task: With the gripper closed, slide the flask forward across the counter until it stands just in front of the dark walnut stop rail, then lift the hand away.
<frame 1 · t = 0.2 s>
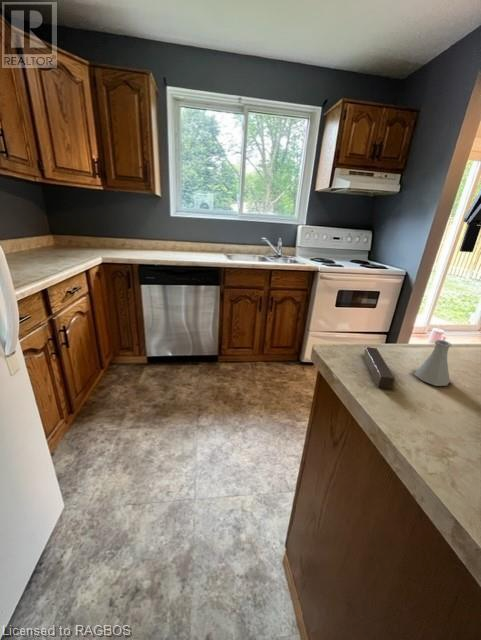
stop rail: (376, 371, 70), on the countertop
flask: (430, 379, 68), on the countertop
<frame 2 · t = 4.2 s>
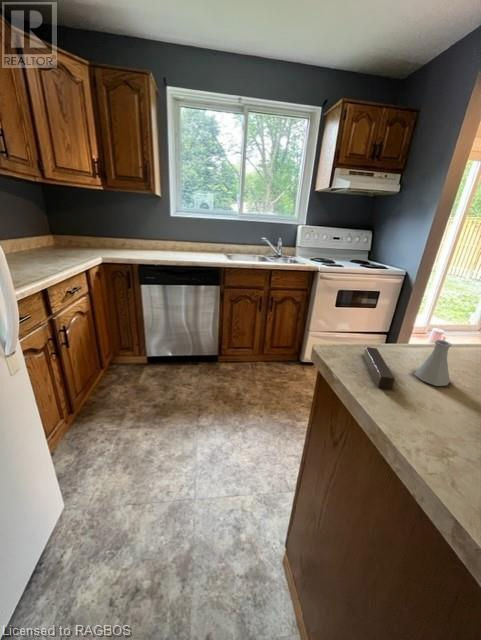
nothing on the countertop moved.
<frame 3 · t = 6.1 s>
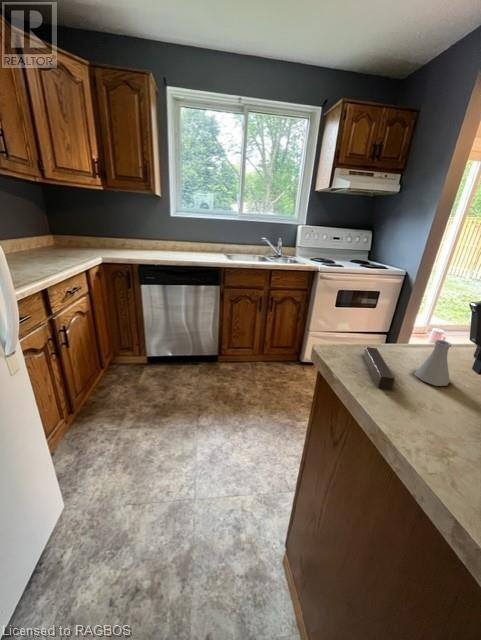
hand: (478, 372, 65), 4 cm above the countertop, tool pointing down, fingers closed
nothing on the countertop moved.
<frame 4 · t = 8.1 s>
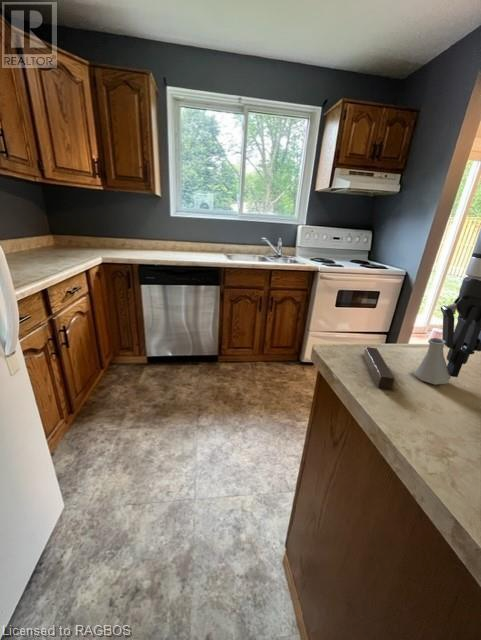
hand: (451, 373, 66), 2 cm above the countertop, tool pointing down, fingers closed
flask: (431, 377, 68), on the countertop, touching gripper, hand
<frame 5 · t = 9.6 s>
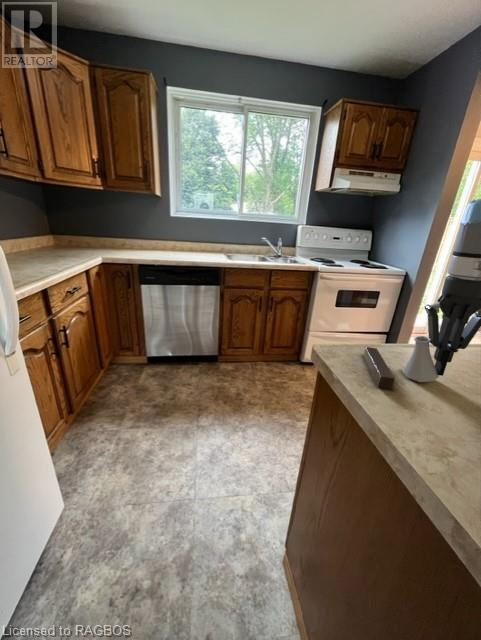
hand: (438, 372, 66), 2 cm above the countertop, tool pointing down, fingers closed
flask: (420, 375, 68), on the countertop, touching gripper, hand
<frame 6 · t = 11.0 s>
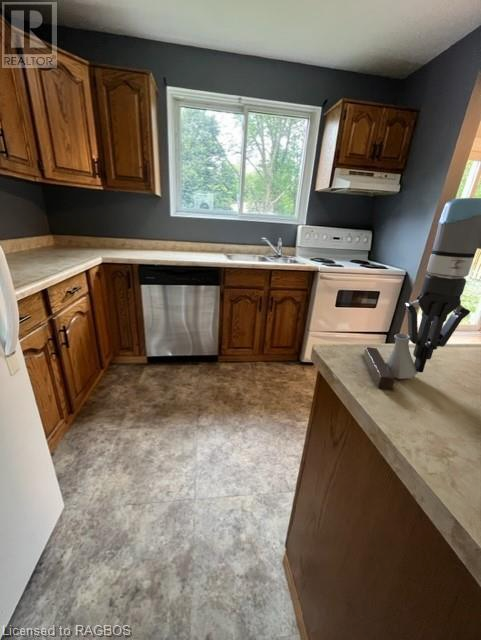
hand: (417, 369, 67), 2 cm above the countertop, tool pointing down, fingers closed
flask: (399, 372, 69), on the countertop, touching gripper, hand
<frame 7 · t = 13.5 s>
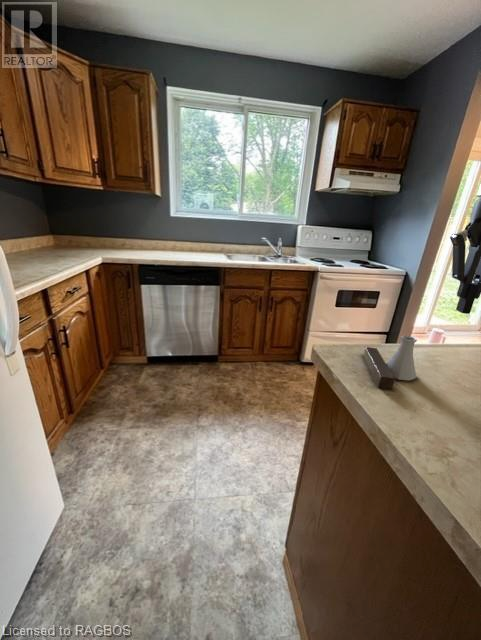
hand: (462, 311, 62), 18 cm above the countertop, tool pointing down, fingers closed
flask: (398, 374, 70), on the countertop
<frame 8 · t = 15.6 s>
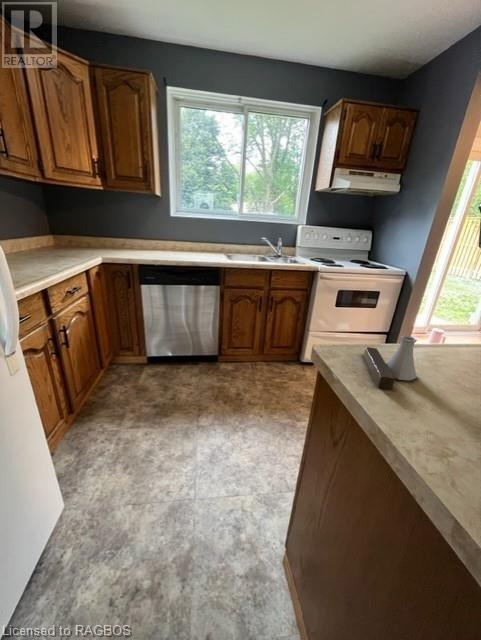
nothing on the countertop moved.
at the end: flask inside the target area (0.3 cm from its centre), on the countertop; flask tilted 0°; the gripper is holding nothing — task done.
